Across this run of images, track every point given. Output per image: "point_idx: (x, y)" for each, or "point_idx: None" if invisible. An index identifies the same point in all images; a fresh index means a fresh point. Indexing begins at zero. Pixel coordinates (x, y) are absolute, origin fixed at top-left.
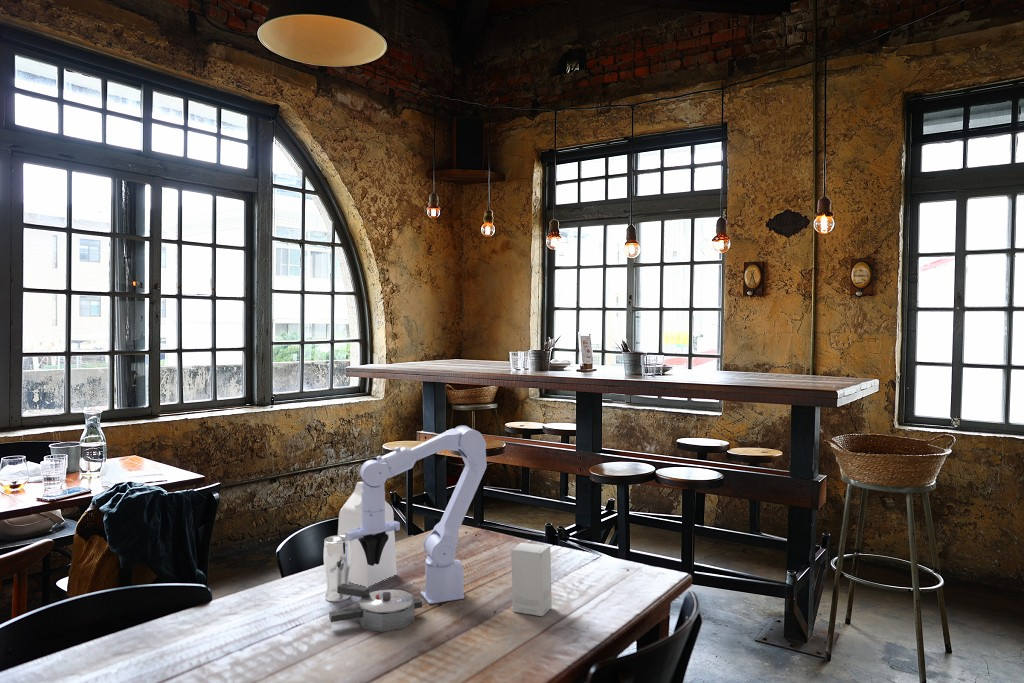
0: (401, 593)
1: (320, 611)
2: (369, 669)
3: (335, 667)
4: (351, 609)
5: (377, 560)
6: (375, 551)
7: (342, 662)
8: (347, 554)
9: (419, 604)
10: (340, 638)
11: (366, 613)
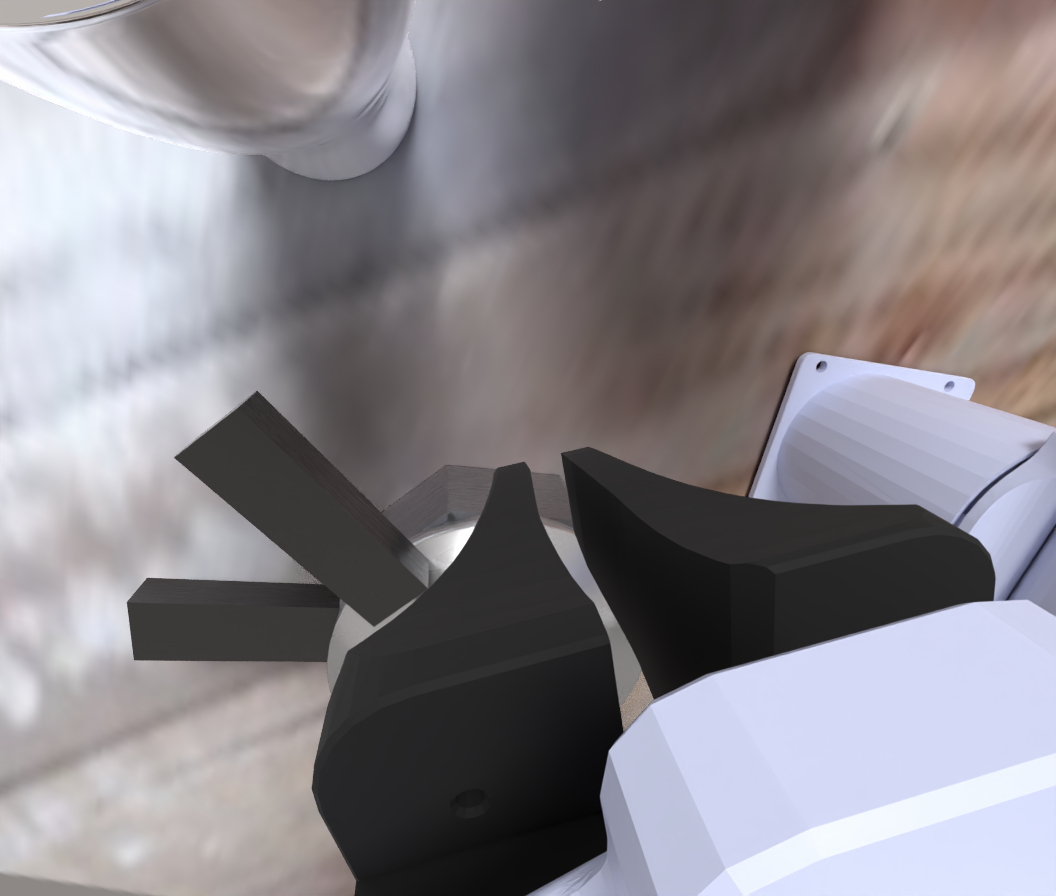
0: (609, 621)
1: (143, 287)
2: (279, 891)
3: (156, 860)
4: (280, 619)
5: (588, 566)
6: (620, 575)
7: (190, 838)
8: (288, 110)
9: None
10: (216, 671)
11: None
